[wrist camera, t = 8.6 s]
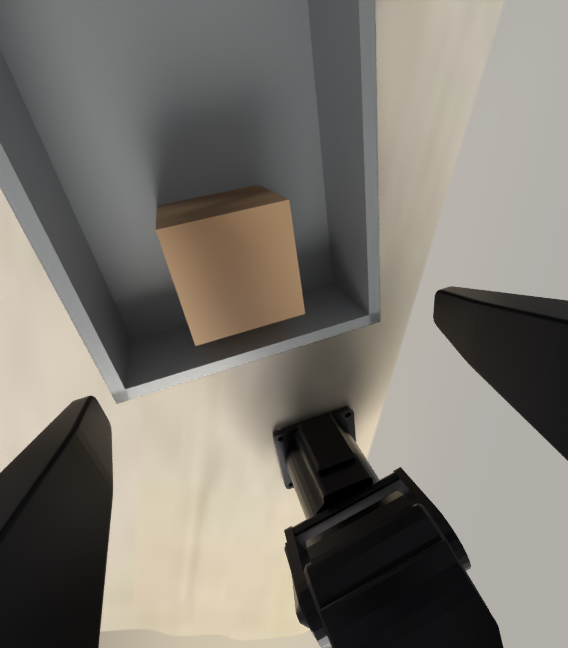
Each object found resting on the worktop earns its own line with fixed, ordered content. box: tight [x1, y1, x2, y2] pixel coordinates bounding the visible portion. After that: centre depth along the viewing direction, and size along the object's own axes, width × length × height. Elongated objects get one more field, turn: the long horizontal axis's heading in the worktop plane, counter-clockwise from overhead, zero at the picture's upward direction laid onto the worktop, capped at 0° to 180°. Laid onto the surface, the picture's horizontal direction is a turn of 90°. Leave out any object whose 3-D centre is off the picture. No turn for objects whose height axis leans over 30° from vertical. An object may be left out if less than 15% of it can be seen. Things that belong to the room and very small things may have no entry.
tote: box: [0, 0, 380, 404], centre depth 14 cm, size 18×13×5 cm
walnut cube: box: [156, 185, 305, 346], centre depth 16 cm, size 5×5×5 cm
